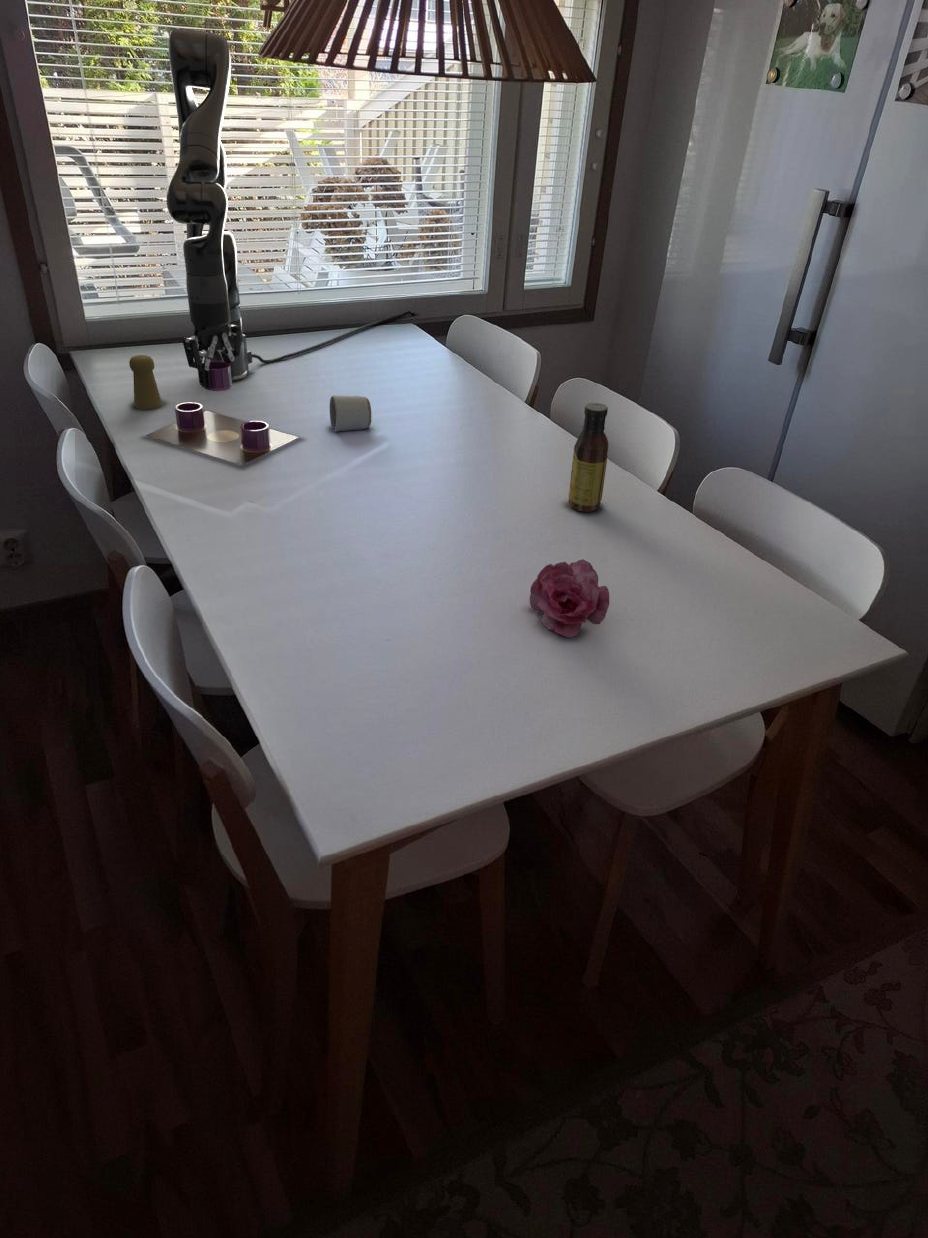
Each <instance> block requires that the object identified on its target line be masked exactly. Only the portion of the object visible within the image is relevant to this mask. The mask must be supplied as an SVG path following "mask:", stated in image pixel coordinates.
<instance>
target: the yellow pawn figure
mask: <svg viewBox="0 0 928 1238" xmlns="http://www.w3.org/2000/svg"><path fill="white" fill-rule="evenodd" d="M128 364H129V368H130V370H131V372H132V373H133V374H132V375H133V406H134V408H135V409H138V410H155V409H158V408H160V407H162V406H163V401H162V398H161V395H160V392H159V388H158V385H157V381H156V377H155V374H154V369H155V361H154V359H153V358H152V357H151V356H150V355H147V354H138V355H137V354H136V355H133V356H132V357H131V358H130V359H129V361H128Z"/></svg>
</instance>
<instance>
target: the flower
mask: <svg viewBox="0 0 928 1238" xmlns="http://www.w3.org/2000/svg"><path fill="white" fill-rule="evenodd" d="M529 606H530V607H531V609H532V610H533V611H536V612H539V613H543V614H542V619H541V623H542V625H543V626H544V627H545V628H546V629H547V630H551V631H554V632H555V633H556V634H558V635H561V636H563V637H565V638H574V637H575V636H577V635H578V634H579V633H580V631H581V627H582V625H583V624H585V623H587V621H588V622H590V623H591V624H592V625H600V624H601V623H602V622H603V621H604V620H605V618H606V616H607V613H608V610H609V607H610V592H609V587H607V585H601V586H599V575H598V573H597V571H596V570H595V569H594V567H593V565H592V563H591V562H590V561H587V560H585V559H580V560H577V561H574V562H570V563H567V562H566V561H560V562H557V563H555V564H554V565H553V564H552V563H549V564H546V565H545V566H544V567H543V568H542V569H541V570H540V571H539V573H538V574H537V576H536V579H535V580H533V583H532V584H531V586H530V594H529Z"/></svg>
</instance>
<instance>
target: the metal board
mask: <svg viewBox="0 0 928 1238" xmlns="http://www.w3.org/2000/svg"><path fill="white" fill-rule="evenodd" d="M203 412H204V420H205V427H204V428H203V429H201V430H198V431H192V432H188V431H182V430H179V429H178V426H177V422H176V423H172V424H170V425H168V426H165V427H163V428H160V429H159V430H155V431H153V432H150V433H148V434H146V435H145V436H146V437H150V438H153V439H156V440H158V441H159V440H160V441H161V442H162V441H163V442H166V443H169V444H172V445H174V446H178V447H181V448H186V449H188V450H191V451H195V452H198V453H201V454H204V455H207V456H210V457H214V458H217V459H220V460H223V461H226V462H230V463H233V464H236V465H239V466H243V465H246V464H248V463H249V462H252V461H254V460H256V459H258V458H260V457H262V456H265V455H266V454H269V453H270V452H273V451H274V450H276V449H279V448H280V447H282V446H284V445H287V444H289V443H291V442H293V441H295V440H298V439H299V438H300V437H299V436H297V435H293V434H288V433H285V432H282V431H279V430H275V429H272V428H269V432H270V447H269V448H268V449H266V450H263V451H248V450H245V449H244V448H243V447H242V440H241V430H240V426H241V424H243V423H245V422H246V421H244V420H240V419H237V418H233V417H231V416H228V415H227V416H226V415H223V414H219V413H216V412H212V411H210V410H205V411H203Z"/></svg>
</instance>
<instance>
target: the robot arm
mask: <svg viewBox="0 0 928 1238" xmlns="http://www.w3.org/2000/svg"><path fill="white" fill-rule="evenodd" d="M168 59H169V67H170V74H171V81H172V89H173V94H174V95H173V96H174V101H175V107H176V108H175V109H176V115H177V116H176V117H177V126H178V128H177V129H178V143H179V145H178V146H179V154H178V155H179V156H178V163H177V165H176V168H175V171H174V173H173V176H172V178H171V180H170V182H169V185H168V188H167V191H166V208H167V211H168V214H169V216H170V217H171V218H172V219H173V220H174V221H175V222H176V223H179V224H183V225H186V240H184V242H183V246H182V249H183V250H182V251H183V257H184V258H183V259H184V266H185V274H186V277H185V278H186V279H185V283H186V284H185V285H186V294H187V295H186V296H187V301H188V310H189V318H190V322H191V323H192V325H193V327H194V331H193V335H192V336H190V337H185V336H184V337H183V338H182V345H183V349H184V352H185V353H184V354H185V357H186V361H187V365H188V367H189V368H193V369H196V370H197V372H198V373H197V374H198V381H199V385H200V386H201V387H202V388H203V389H205V388H207V389H208V388H211V377H210V370H208V369H209V365H210V361H223V362H227V363H229V364H230V367H231V377H232V382H233V381H239V380H243V379H245V378H246V377H247V376H248V375H249V374H250V368H249V367H250V366H249V364H253V358H255V359H257V360H258V361H259V362H261V363H263V364H273V363H277V362H280V361H282V360H285V359H289V358H292V357H296V356H298V355H302V354H304V353H307V352H311V351H314V350H315V349H318V348H321V347H324V346H326V345H328V344H331V343H333V342H336V341H338V340H341V339H343V338H345V337H347V336H350V335H352V334H356V333H357V332H359V331H362V330H364V329H365V330H366V329H368V328H371V327H373V326H376V325H379V324H382V323H385V322H389V321H393V320H396V319H400V318H403V317H405V316H407V315H411V316H413V317H415V316H416V313H414V312H413V313H411V312H410V311H411V310H408V312H407V311H405V312H403V313H401V314H398V315H393V316H390V317H386V318H382V319H379V320H377V321H373V322H371V323H367V324H365V325H363V326H360V327H358V328H357V327H356V328H354V329H352V330H350V331H347V332H344V333H343V334H340V335H338V336H335V337H333V338H330V339H328V340H326V341H323V342H321V343H318V344H315V345H312V346H310V347H307V348H304V349H301V350H298V351H295V352H292V353H287V354H284V355H281V356H278V357H276V358H274V359H264V358H263V357H261V355H259V354H257V353H256V354H255V353H252V351H251V350H248V347H247V345H248V344H247V335H245V334H244V333H243V332H244V331H243V321H242V320H243V319H242V312H241V311H242V310H241V299H240V289H239V276H238V275H239V274H238V273H239V272H238V251H237V244H236V240H235V237H234V235H233V234H232V233H231V232H230V231H224V230H225V225H226V221H227V220H226V219H227V215H228V213H227V212H228V209H229V208H228V207H229V200H228V196H227V193H226V191H225V190H226V188H227V183H228V172H227V171H228V169H227V153H226V150H225V147H224V145H223V143H222V141H221V134H222V128H223V121H224V118H225V112H226V109H227V108H226V107H227V101H228V94H229V89H230V83H231V72H232V71H231V69H232V64H231V62H232V61H231V51H230V45H229V42H228V40H227V39H226V37H225V36H223V35H222V34H218V33H214V32H210V31H202V30H197V29H190V28H181V27H178V28H177V27H176V28H174V29H172V30H171V31H170V33H169V37H168ZM193 88H197V89H204V90H208V92H207V93H206V96H205V97H204V98H203V100H202V101H201V102H200V103H199V104H198V103H197V100H196V97H195V95H194V91H193ZM205 226H208V231H204V227H205Z"/></svg>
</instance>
